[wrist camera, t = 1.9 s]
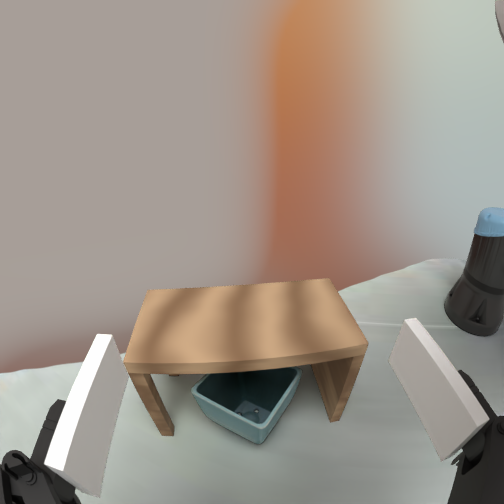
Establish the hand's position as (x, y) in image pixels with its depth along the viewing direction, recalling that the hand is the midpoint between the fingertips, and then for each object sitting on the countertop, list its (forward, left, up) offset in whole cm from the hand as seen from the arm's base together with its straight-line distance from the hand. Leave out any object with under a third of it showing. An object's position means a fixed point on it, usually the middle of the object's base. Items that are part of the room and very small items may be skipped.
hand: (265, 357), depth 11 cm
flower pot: (0, -10, -24) cm, 26 cm away
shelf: (0, -14, -24) cm, 27 cm away
